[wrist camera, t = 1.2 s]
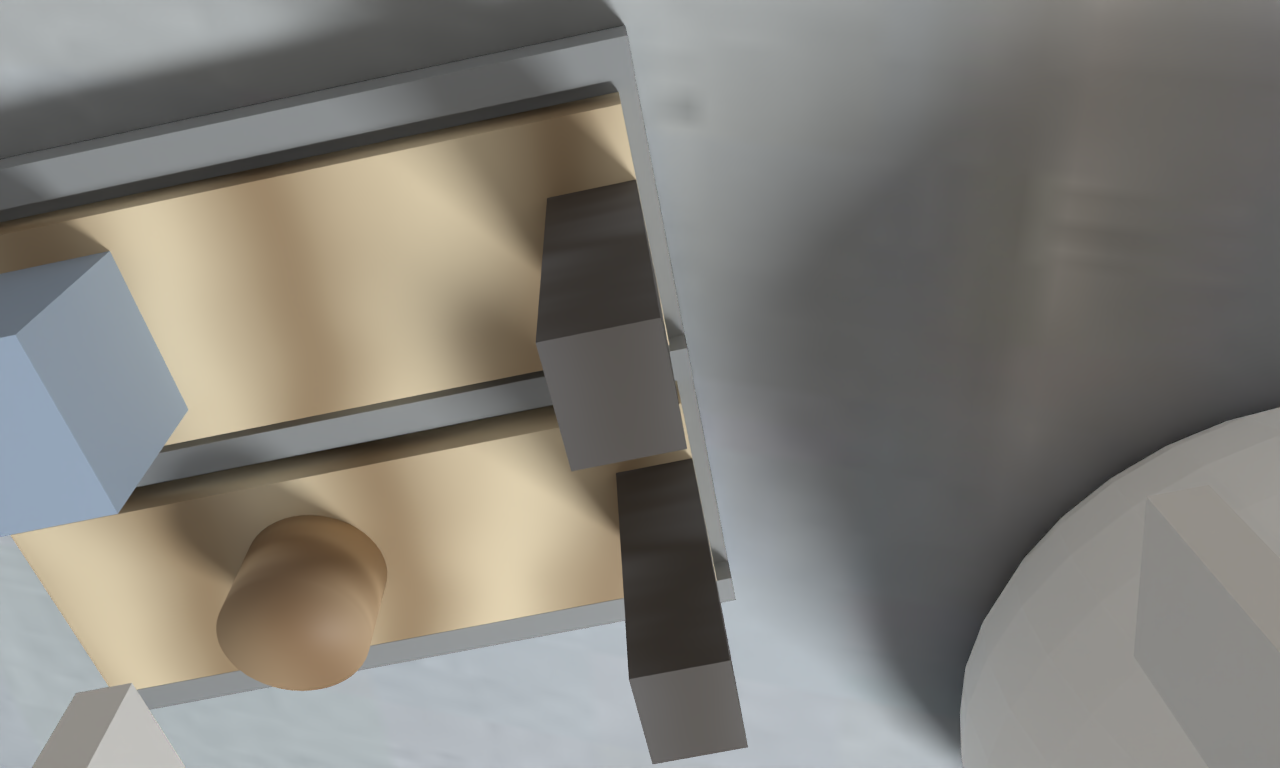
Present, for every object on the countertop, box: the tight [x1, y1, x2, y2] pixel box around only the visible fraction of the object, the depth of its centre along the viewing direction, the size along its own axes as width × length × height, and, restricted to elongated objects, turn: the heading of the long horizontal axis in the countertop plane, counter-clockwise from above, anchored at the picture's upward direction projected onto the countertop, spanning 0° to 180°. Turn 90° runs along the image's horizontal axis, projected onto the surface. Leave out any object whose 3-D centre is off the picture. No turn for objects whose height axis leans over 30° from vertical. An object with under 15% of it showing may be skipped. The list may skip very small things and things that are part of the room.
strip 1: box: [0, 92, 687, 471], centre depth 24 cm, size 21×7×10 cm, turn 101°
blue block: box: [0, 251, 188, 537], centre depth 25 cm, size 5×5×5 cm
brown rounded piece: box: [216, 515, 387, 691], centre depth 30 cm, size 4×4×3 cm
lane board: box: [0, 25, 736, 710], centre depth 30 cm, size 22×19×2 cm
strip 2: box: [11, 381, 748, 764], centre depth 28 cm, size 21×7×10 cm, turn 101°
